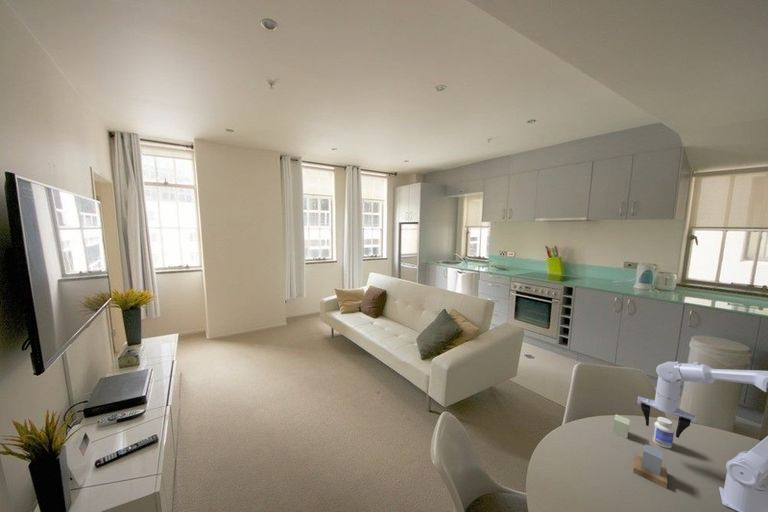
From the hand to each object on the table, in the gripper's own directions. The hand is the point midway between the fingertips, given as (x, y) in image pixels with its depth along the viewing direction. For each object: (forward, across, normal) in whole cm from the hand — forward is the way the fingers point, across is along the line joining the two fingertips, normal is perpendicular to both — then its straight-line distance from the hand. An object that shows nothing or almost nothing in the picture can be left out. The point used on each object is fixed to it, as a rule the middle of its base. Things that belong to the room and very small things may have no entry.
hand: (661, 430), depth 100 cm
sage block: (+10, +11, -5) cm, 16 cm away
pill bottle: (+11, -1, -10) cm, 15 cm away
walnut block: (+11, +2, +12) cm, 16 cm away
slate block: (+8, +2, +12) cm, 15 cm away
